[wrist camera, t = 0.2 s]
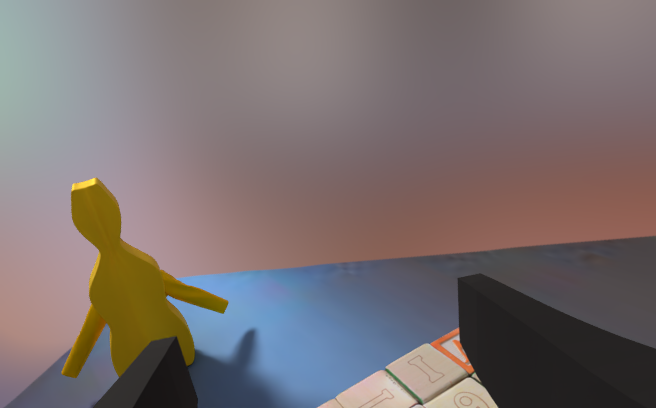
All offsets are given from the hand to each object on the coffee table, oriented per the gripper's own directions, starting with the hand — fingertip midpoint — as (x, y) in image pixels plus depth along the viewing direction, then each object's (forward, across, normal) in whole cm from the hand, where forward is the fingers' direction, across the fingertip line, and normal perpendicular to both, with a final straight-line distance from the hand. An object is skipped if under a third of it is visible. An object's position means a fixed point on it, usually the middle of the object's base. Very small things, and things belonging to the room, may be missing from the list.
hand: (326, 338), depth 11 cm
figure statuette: (+30, +17, +24) cm, 42 cm away
